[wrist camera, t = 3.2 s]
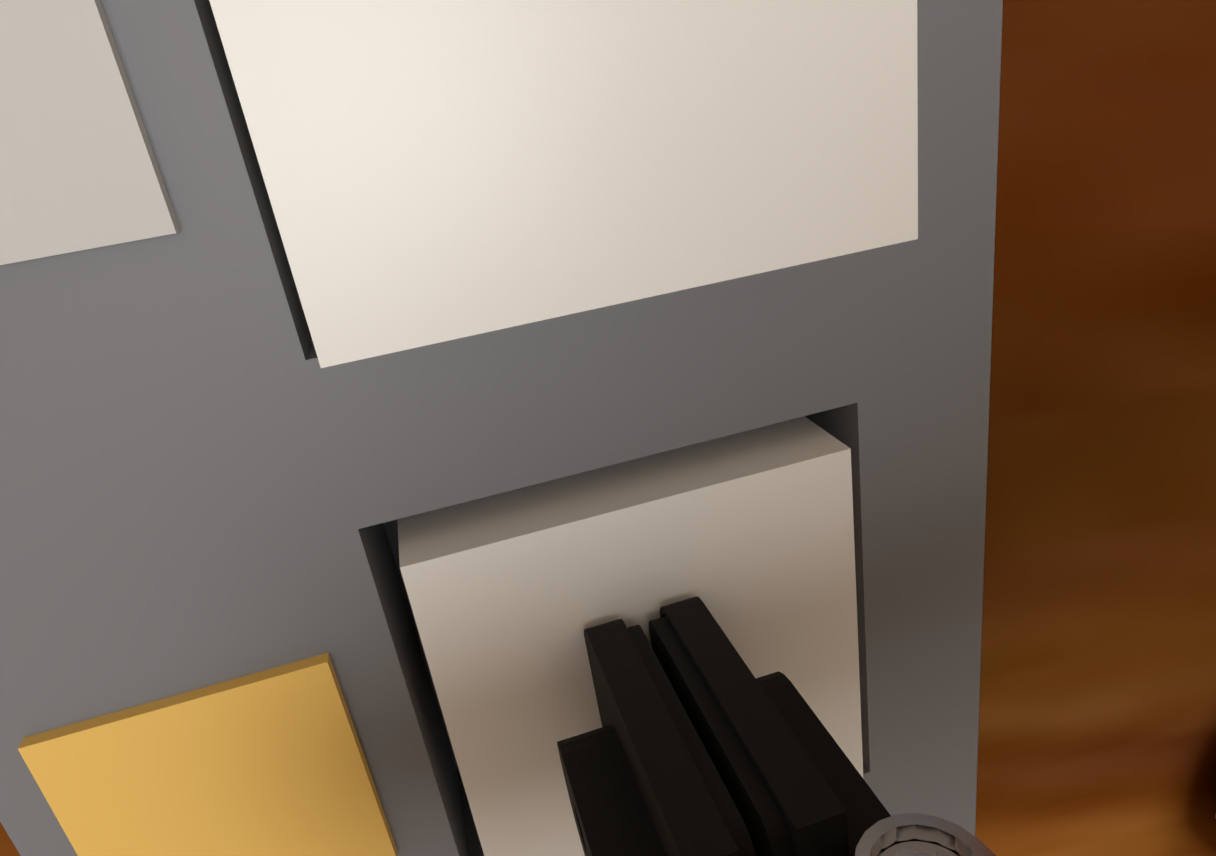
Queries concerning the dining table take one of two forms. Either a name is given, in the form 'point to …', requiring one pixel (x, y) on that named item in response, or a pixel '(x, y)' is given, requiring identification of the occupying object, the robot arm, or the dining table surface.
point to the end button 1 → (628, 602)
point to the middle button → (566, 150)
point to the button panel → (402, 458)
